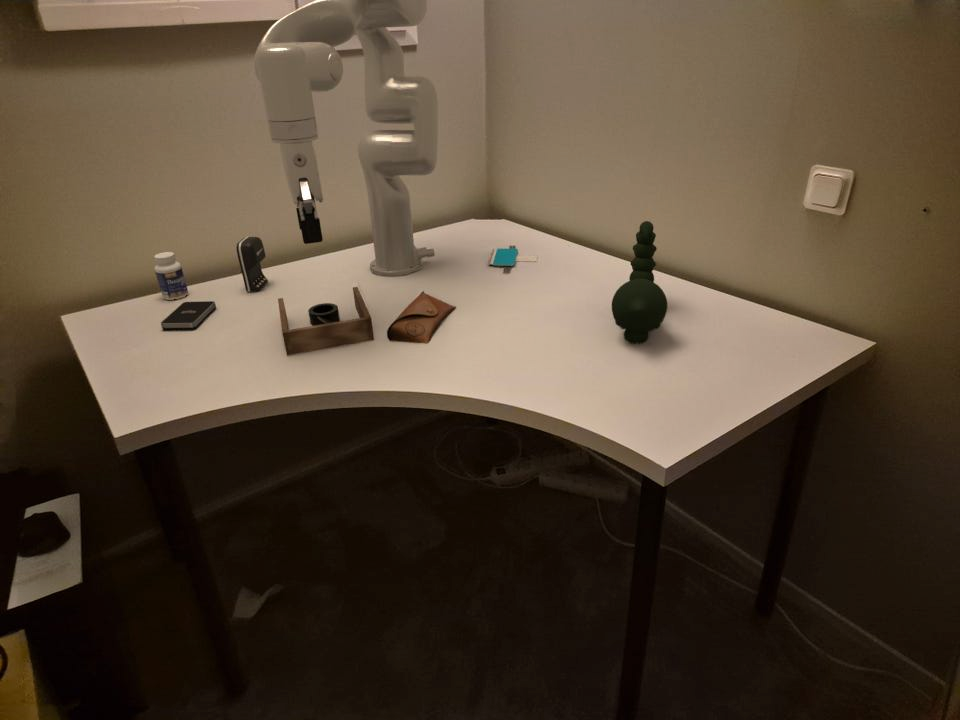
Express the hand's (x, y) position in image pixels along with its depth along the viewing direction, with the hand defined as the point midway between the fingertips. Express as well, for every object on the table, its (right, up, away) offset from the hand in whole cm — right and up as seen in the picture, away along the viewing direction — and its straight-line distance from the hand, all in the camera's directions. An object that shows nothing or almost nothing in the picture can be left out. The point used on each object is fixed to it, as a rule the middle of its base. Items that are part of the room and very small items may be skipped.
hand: (311, 235), depth 110 cm
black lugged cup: (-1, -14, +16) cm, 22 cm away
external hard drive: (-30, -14, +20) cm, 39 cm away
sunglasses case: (+19, -15, +14) cm, 28 cm away
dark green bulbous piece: (+60, -16, +9) cm, 62 cm away
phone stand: (+38, +2, +45) cm, 59 cm away
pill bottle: (-39, -8, +31) cm, 50 cm away
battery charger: (-21, -5, +34) cm, 40 cm away
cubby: (-1, -16, +13) cm, 20 cm away
